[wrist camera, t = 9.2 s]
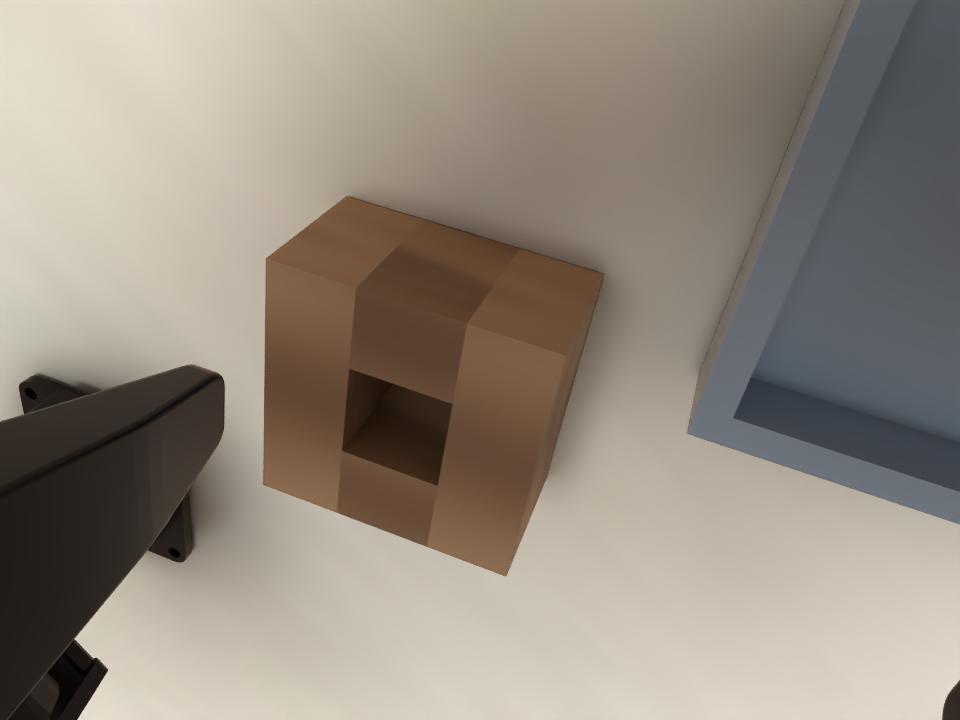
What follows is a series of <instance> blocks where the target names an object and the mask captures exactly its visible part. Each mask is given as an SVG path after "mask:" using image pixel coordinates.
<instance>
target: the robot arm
mask: <svg viewBox="0 0 960 720" xmlns="http://www.w3.org/2000/svg"><path fill="white" fill-rule="evenodd" d="M19 391H20V396H21V401H22V406H23V411H24V415H20V416H17V417H14V418H11V419H7V420H4V421H1V422H0V720H77V719H78V718H79V716H80V714H81V713H82V711H83V710H84V708H85V707H86V705H87V703H88V702H89V700H90V699H91V697H92V695H93V694H94V692H95V691H96V689H97V687H98V686H99V684H100V683H101V681H102V680H103V678H104V676H105V675H106V673H107V671H108V669H107V668H106V667H105V666H104V664H103V663H102V662H101V661H100V660H99V659H98V658H94V659H93V658H92V657H91V656H90V655H89V654H88V653H87V652H86V650H85V649H84V648H83V647H82V646H81V645H80V644H79V643H78V642H77V641H76V640H75V637H76V636H77V635H78V634H79V633H80V631H81V630H82V629H83V628H84V627H85V625H86V624H87V623H88V622H89V620H90V619H91V618H92V617H93V616H94V614H95V613H96V612H97V611H98V610H99V608H100V607H101V606H102V605H103V604H104V602H105V601H106V600H107V599H108V597H109V596H110V595H111V594H112V593H113V591H114V590H115V589H116V588H117V587H118V585H119V584H120V583H121V582H122V581H123V579H124V578H125V577H126V576H127V575H128V573H129V572H130V571H131V570H132V568H133V567H134V566H135V565H136V564H137V562H138V561H139V560H140V559H141V558H142V556H143V555H144V554H145V552H146V551H147V550H148V551H151V552H153V553H156V554H158V555H160V556H163V557H165V558H168V559H170V560H173V561H175V562H183V561H185V560H186V559H187V557H188V556H189V555H190V554H191V552H192V542H191V526H190V509H189V493H188V490H189V488H190V487H191V485H192V484H193V482H194V481H195V479H196V478H197V476H198V475H199V473H200V472H201V470H202V468H203V467H204V465H205V464H206V462H207V461H208V459H209V458H210V456H211V455H212V453H213V452H214V450H215V449H216V447H217V445H218V444H219V442H220V439H221V437H222V434H223V430H224V399H225V385H224V380H223V378H222V376H221V375H220V374H218V373H217V372H214V371H211V370H208V369H205V368H202V367H200V366H197V365H186V366H182V367H179V368H175V369H172V370H169V371H165V372H162V373H159V374H156V375H152V376H149V377H146V378H142V379H139V380H136V381H132V382H129V383H126V384H123V385H119V386H116V387H113V388H109V389H106V390H103V391H100V392H96V393H93V394H90V395H85V394H82V393H80V392H77V391H74V390H72V389H69V388H66V387H63V386H61V385H58V384H55V383H53V382H50V381H47V380H45V379H42V378H39V377H36V376H31V377H29V378H27V379H26V380H24V381H23V382H21V384H20V385H19ZM942 720H960V680H959V682H958V683H957V684H956V685H955V686H954V687H953V689H952V690H951V691H950V693H949V694H948V696H947V698H946V701H945V704H944V708H943V715H942Z"/></svg>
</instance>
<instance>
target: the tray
mask: <svg viewBox="0 0 960 720" xmlns="http://www.w3.org/2000/svg"><path fill="white" fill-rule="evenodd" d="M687 434H689V435H692V436H695V437H698V438H702V439H705V440H708V441H711V442H714V443H717V444H720V445H723V446H726V447H729V448H732V449H735V450H738V451H741V452H744V453H747V454H750V455H753V456H756V457H759V458H762V459H765V460H768V461H771V462H774V463H777V464H780V465H783V466H786V467H789V468H792V469H795V470H798V471H801V472H804V473H807V474H810V475H813V476H816V477H819V478H822V479H825V480H828V481H831V482H834V483H837V484H840V485H843V486H846V487H849V488H852V489H855V490H858V491H861V492H864V493H867V494H870V495H873V496H876V497H879V498H882V499H885V500H888V501H891V502H894V503H897V504H900V505H903V506H906V507H909V508H912V509H915V510H918V511H921V512H924V513H927V514H930V515H933V516H936V517H939V518H942V519H945V520H948V521H951V522H954V523H957V524H960V0H845V3H844V6H843V8H842V11H841V13H840V16H839V18H838V21H837V23H836V26H835V29H834V31H833V34H832V36H831V39H830V41H829V44H828V46H827V49H826V52H825V54H824V57H823V59H822V62H821V64H820V67H819V69H818V72H817V75H816V77H815V80H814V82H813V85H812V87H811V90H810V92H809V95H808V98H807V100H806V103H805V105H804V108H803V110H802V113H801V115H800V118H799V121H798V123H797V126H796V128H795V131H794V133H793V136H792V138H791V141H790V144H789V146H788V149H787V151H786V154H785V156H784V159H783V161H782V164H781V167H780V169H779V172H778V174H777V177H776V179H775V182H774V184H773V187H772V190H771V192H770V195H769V197H768V200H767V202H766V205H765V207H764V210H763V213H762V215H761V218H760V220H759V223H758V225H757V228H756V230H755V233H754V236H753V238H752V241H751V243H750V246H749V248H748V251H747V253H746V256H745V259H744V261H743V264H742V266H741V269H740V271H739V274H738V276H737V279H736V282H735V284H734V287H733V289H732V292H731V294H730V297H729V299H728V302H727V305H726V307H725V310H724V312H723V315H722V317H721V320H720V322H719V325H718V328H717V330H716V333H715V335H714V338H713V340H712V343H711V345H710V348H709V351H708V353H707V356H706V358H705V361H704V363H703V366H702V368H701V371H700V374H699V376H698V381H697V386H696V390H695V395H694V400H693V405H692V410H691V415H690V420H689V425H688V430H687Z"/></svg>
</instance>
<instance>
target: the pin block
mask: <svg viewBox="0 0 960 720" xmlns="http://www.w3.org/2000/svg"><path fill="white" fill-rule="evenodd" d="M603 276H604V274H602V273H598V272H595V271H592V270H588V269H585V268H582V267H579V266H575V265H572V264H569V263H565V262H562V261H559V260H555V259H552V258H549V257H546V256H542V255H539V254H536V253H532V252H529V251H526V250H522V249H519V248H516V247H513V246H509V245H506V244H503V243H499V242H496V241H493V240H489V239H486V238H483V237H480V236H476V235H473V234H470V233H466V232H463V231H460V230H456V229H453V228H450V227H446V226H443V225H440V224H437V223H433V222H430V221H427V220H423V219H420V218H417V217H413V216H410V215H407V214H404V213H400V212H397V211H394V210H390V209H387V208H384V207H380V206H377V205H374V204H371V203H367V202H364V201H361V200H357V199H354V198H351V197H347V196H346V197H345V198H344V199H342V200H341V201H340V202H339V203H337V204H336V205H335V206H333V207H332V208H331V209H330V210H328V211H327V212H326V213H324V214H323V215H322V216H320V217H319V218H318V219H317V220H315V221H314V222H313V223H311V224H310V225H309V226H308V227H306V228H305V229H304V230H302V231H301V232H300V233H299V234H297V235H296V236H295V237H293V238H292V239H291V240H289V241H288V242H287V243H286V244H284V245H283V246H282V247H280V248H279V249H278V250H277V251H275V252H274V253H273V254H271V255H270V256H269V257H268V258H266V305H265V387H264V469H263V485H265V486H268V487H271V488H273V489H276V490H279V491H281V492H284V493H286V494H289V495H292V496H294V497H297V498H300V499H302V500H305V501H308V502H310V503H313V504H316V505H318V506H321V507H323V508H326V509H329V510H331V511H334V512H337V513H339V514H342V515H345V516H347V517H350V518H353V519H355V520H358V521H360V522H363V523H366V524H368V525H371V526H374V527H376V528H379V529H382V530H384V531H387V532H390V533H392V534H395V535H397V536H400V537H403V538H405V539H408V540H411V541H413V542H416V543H419V544H421V545H424V546H427V547H429V548H432V549H435V550H437V551H440V552H442V553H445V554H448V555H450V556H453V557H456V558H458V559H461V560H464V561H466V562H469V563H472V564H474V565H477V566H479V567H482V568H485V569H487V570H490V571H493V572H495V573H498V574H501V575H503V576H507V573H508V571H509V568H510V566H511V564H512V561H513V559H514V556H515V554H516V551H517V549H518V546H519V544H520V542H521V539H522V537H523V534H524V532H525V529H526V527H527V524H528V522H529V519H530V517H531V515H532V512H533V510H534V507H535V505H536V502H537V500H538V497H539V495H540V493H541V490H542V488H543V485H544V483H545V480H546V477H547V474H548V470H549V467H550V463H551V460H552V456H553V452H554V449H555V445H556V442H557V438H558V435H559V431H560V428H561V424H562V421H563V417H564V414H565V410H566V407H567V403H568V400H569V396H570V393H571V389H572V385H573V382H574V378H575V375H576V371H577V368H578V364H579V361H580V357H581V354H582V350H583V347H584V343H585V340H586V336H587V333H588V329H589V325H590V322H591V318H592V315H593V311H594V308H595V304H596V301H597V297H598V294H599V290H600V287H601V283H602V280H603Z"/></svg>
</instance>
